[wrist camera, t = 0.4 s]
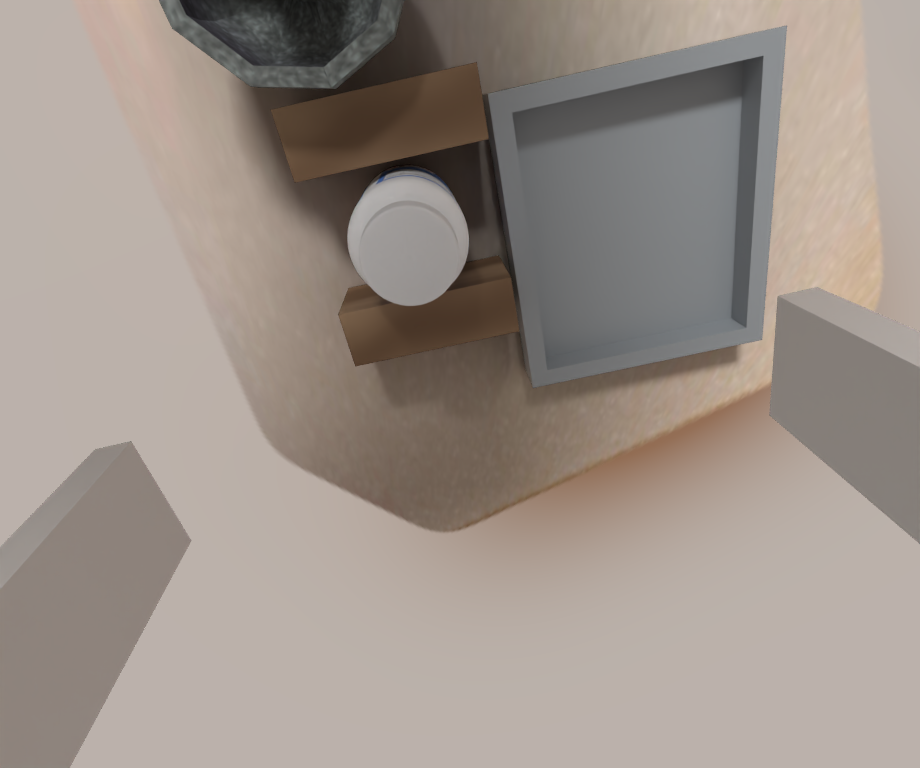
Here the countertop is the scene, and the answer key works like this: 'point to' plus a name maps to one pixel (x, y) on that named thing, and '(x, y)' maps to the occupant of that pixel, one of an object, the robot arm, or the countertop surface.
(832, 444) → the robot arm
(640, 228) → the tray
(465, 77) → the slot holder
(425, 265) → the pill bottle
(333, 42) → the mortar and pestle
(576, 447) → the countertop surface
